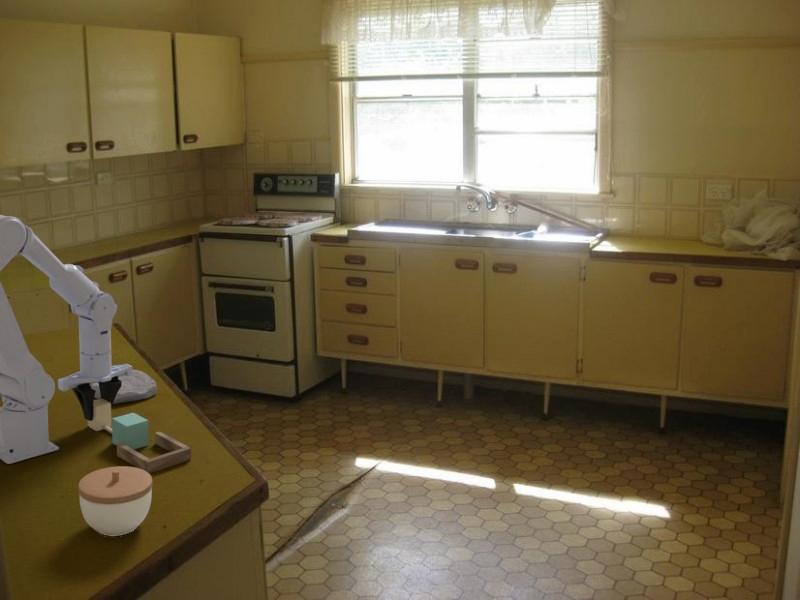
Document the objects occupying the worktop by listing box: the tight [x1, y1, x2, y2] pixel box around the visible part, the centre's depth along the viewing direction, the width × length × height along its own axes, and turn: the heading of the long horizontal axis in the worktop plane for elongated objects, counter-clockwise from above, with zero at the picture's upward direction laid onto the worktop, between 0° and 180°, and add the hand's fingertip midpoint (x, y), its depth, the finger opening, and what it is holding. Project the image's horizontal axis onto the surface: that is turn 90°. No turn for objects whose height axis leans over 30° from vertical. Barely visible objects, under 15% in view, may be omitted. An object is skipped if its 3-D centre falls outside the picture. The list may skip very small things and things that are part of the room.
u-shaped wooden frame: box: [116, 431, 192, 474], centre depth 158 cm, size 10×9×2 cm
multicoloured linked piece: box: [87, 399, 150, 451], centre depth 165 cm, size 15×4×5 cm, turn 48°
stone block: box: [90, 369, 158, 405], centre depth 187 cm, size 12×5×10 cm
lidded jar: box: [77, 465, 153, 536], centre depth 133 cm, size 11×11×9 cm
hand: (97, 416), depth 170 cm, fingers closed on multicoloured linked piece, 3 cm apart
